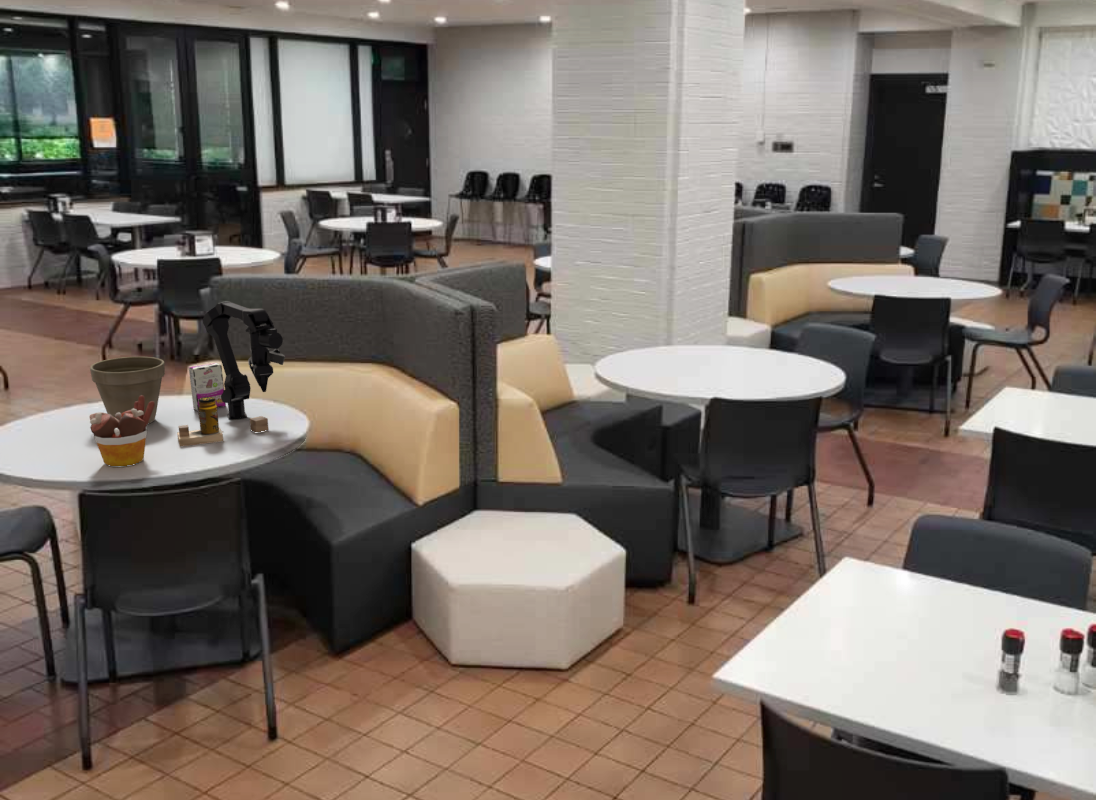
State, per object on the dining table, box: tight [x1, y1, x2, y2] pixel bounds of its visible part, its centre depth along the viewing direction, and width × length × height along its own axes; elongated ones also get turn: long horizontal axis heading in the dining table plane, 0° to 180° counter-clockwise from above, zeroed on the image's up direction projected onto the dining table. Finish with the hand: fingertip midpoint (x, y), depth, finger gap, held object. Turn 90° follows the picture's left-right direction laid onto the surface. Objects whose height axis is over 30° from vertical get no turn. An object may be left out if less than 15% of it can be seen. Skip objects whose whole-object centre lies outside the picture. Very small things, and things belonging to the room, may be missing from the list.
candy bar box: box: [188, 362, 227, 412], centre depth 406 cm, size 11×5×16 cm, turn 130°
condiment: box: [191, 397, 224, 437], centre depth 364 cm, size 7×8×12 cm
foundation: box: [177, 424, 224, 447], centre depth 366 cm, size 9×14×6 cm, turn 112°
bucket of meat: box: [89, 395, 155, 467], centre depth 342 cm, size 20×16×20 cm
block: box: [249, 415, 269, 433], centre depth 376 cm, size 4×4×4 cm
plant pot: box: [89, 356, 166, 424], centre depth 387 cm, size 25×25×22 cm
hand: (262, 389), depth 381 cm, fingers open, 9 cm apart
